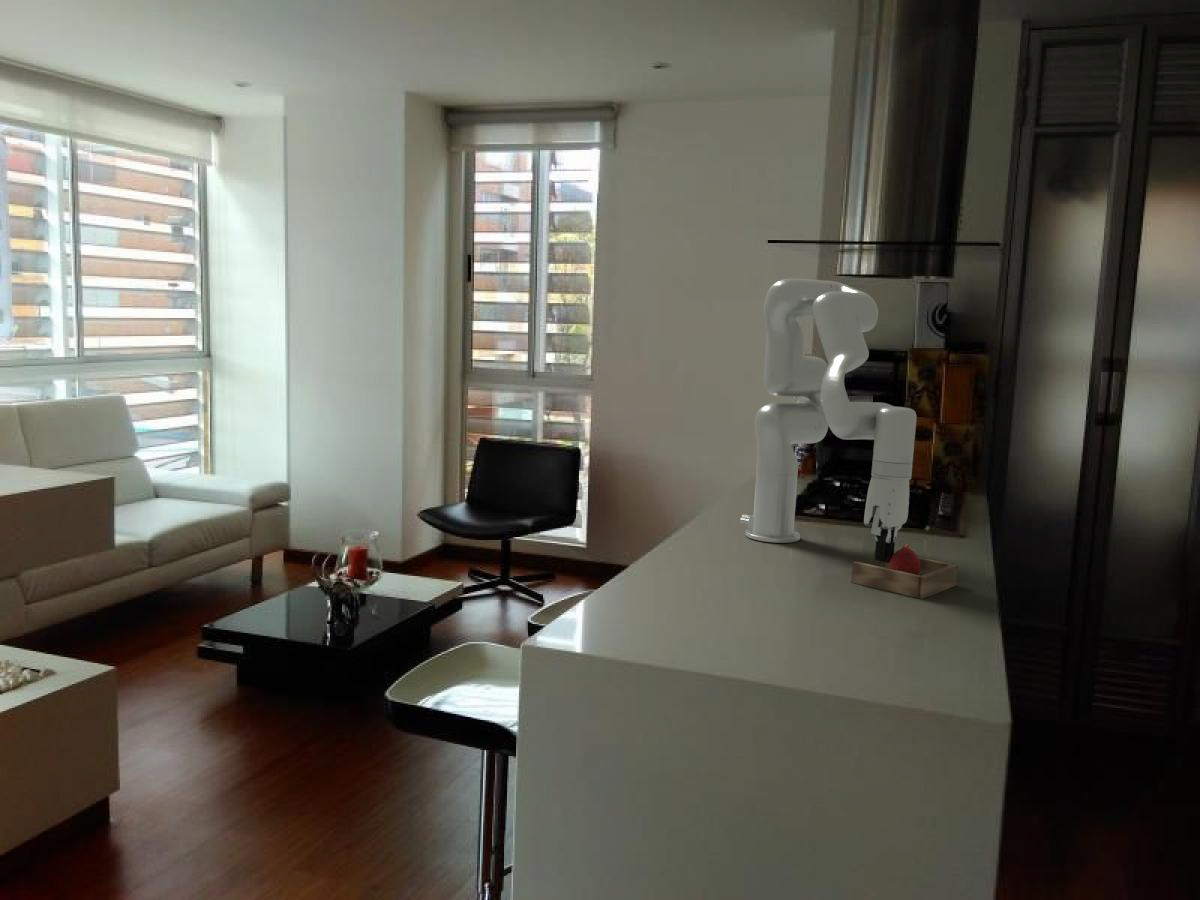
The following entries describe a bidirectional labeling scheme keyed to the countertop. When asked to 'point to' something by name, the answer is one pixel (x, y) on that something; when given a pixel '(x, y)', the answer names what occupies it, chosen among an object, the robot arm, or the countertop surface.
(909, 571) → the onion
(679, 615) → the countertop surface
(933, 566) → the wooden tray
